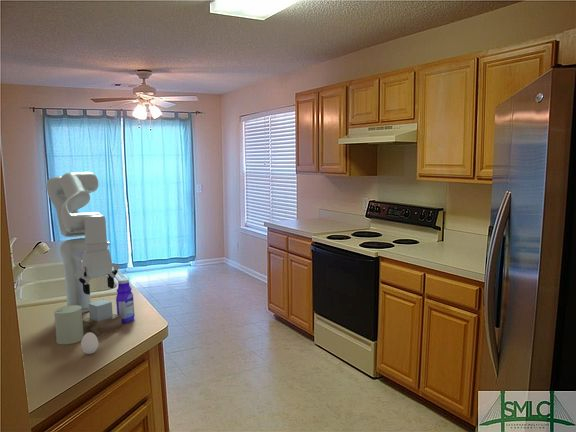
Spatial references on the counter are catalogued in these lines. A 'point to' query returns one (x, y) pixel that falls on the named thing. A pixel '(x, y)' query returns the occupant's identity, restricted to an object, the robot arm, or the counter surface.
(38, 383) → the counter surface
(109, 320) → the walnut block
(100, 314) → the grey cube
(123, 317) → the bottle
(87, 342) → the egg
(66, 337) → the can
